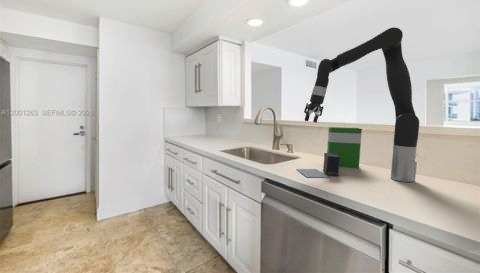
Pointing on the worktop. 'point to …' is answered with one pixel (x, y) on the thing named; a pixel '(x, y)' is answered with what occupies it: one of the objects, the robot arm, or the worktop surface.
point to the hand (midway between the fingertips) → (310, 121)
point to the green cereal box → (345, 145)
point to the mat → (312, 173)
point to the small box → (331, 164)
